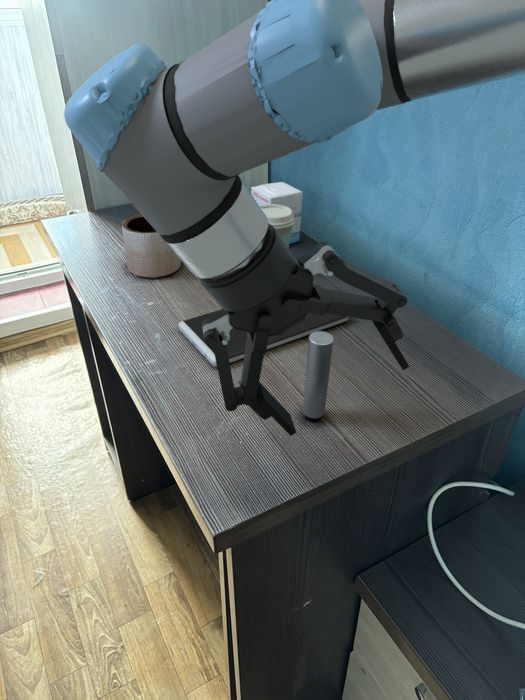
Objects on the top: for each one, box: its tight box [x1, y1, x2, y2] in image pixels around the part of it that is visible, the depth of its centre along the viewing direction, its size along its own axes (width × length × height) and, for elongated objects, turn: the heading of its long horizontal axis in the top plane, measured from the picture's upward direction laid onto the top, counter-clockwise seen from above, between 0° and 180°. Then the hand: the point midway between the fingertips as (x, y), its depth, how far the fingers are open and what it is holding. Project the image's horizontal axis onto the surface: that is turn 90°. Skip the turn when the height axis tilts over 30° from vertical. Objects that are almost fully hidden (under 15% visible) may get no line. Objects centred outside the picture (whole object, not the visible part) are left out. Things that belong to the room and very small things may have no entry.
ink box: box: [250, 181, 304, 245], centre depth 116 cm, size 8×8×12 cm
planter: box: [121, 213, 182, 279], centre depth 104 cm, size 11×11×10 cm
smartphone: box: [178, 308, 350, 368], centre depth 89 cm, size 13×27×2 cm, turn 123°
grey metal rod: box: [302, 330, 335, 423], centre depth 67 cm, size 3×3×13 cm
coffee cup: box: [260, 204, 295, 249], centre depth 105 cm, size 9×9×12 cm
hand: (344, 393), depth 55 cm, fingers open, 13 cm apart
